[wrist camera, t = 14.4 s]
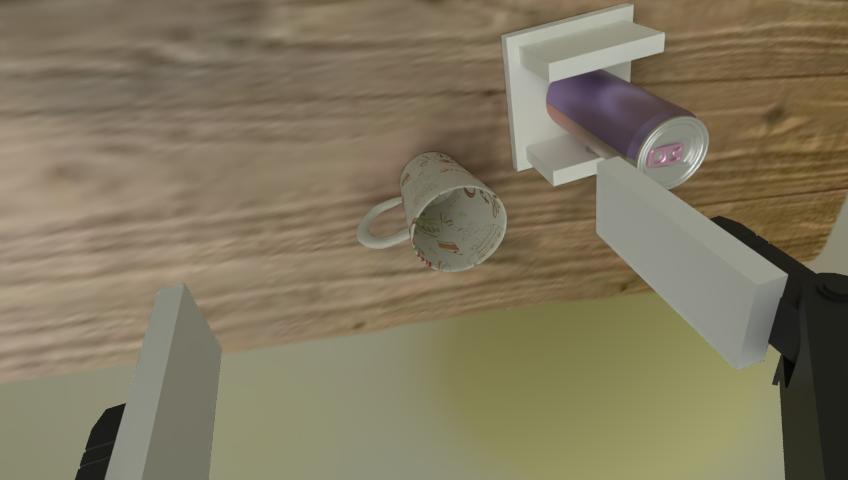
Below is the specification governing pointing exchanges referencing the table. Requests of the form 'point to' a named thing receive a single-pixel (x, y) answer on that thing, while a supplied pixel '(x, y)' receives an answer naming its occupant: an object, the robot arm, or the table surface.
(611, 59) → the holder
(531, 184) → the table surface
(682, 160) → the beverage can
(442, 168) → the mug
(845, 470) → the robot arm
